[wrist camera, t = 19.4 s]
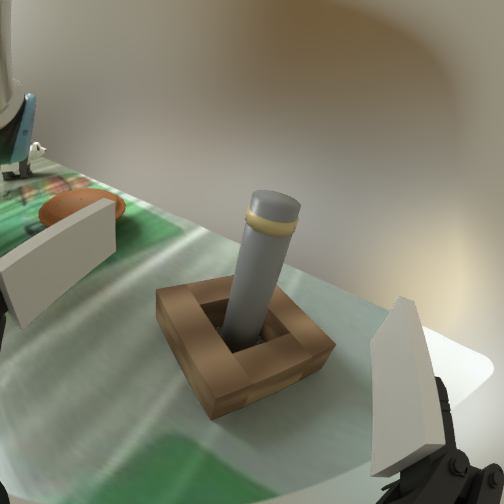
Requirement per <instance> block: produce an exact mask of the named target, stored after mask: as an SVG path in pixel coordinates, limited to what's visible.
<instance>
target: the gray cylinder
mask: <svg viewBox="0 0 504 504" xmlns="http://www.w3.org/2000/svg"><path fill="white" fill-rule="evenodd" d="M300 207H301V205H300V203H299V202H298V201H297V200H295V199H294V198H292V197H290V196H288V195H285V194H282V193H278V192H274V191H269V190H268V191H267V190H258V191H255V192H253V193H252V198H251V202H250V204H249V205H248V209H247V213H246V218H245V221H246V224H245V229H244V233H243V238H242V242H241V246H240V251H239V255H238V260H237V264H236V269H235V273H234V278H233V282H232V287H231V291H230V296H229V301H228V305H227V310H226V315H225V319H224V324H223V329H222V333H221V338H222V340H223V341H224V343H225V344H226V346H227V347H228V349H229V350H230V351H231V353H232V354H233V353H236V352H239V351H242V350H245V349H248V348H251V347H254V346H256V343H257V340H258V337H259V334H260V331H261V328H262V325H263V323H264V320H265V317H266V314H267V311H268V308H269V305H270V302H271V299H272V296H273V293H274V290H275V287H276V284H277V281H278V278H279V275H280V271H281V268H282V265H283V262H284V259H285V256H286V252H287V249H288V246H289V243H290V240H291V237H292V234H293V233H294V232H295V229H296V225H297V222H298V214H299V211H300Z"/></svg>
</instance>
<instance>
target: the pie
mask: <svg viewBox="0 0 504 504" xmlns="http://www.w3.org/2000/svg"><path fill="white" fill-rule="evenodd" d="M102 198H106V199H109V200H112V201H115V224H116V222H117V221H118V219H119V218H120V217H121V215H122V214H123V213H124V211H125V207H126V204H125V202H124V200H123V199H122V198H120V197H119V196H117V195H114V194H112V193H111V192H108V191H105V190H100V189H91V188H86V189H76V190H70V191H67V192H63V193H61V194H59V195H56V196H54V197H53V198H52V199H50V200H49V201H47V202H46V203H44V204H43V205H42V207H41V208H40V210H39V216H38V217H39V219H40V221H41V223H42V224H43V225H44V226H46V227H47V228H49V227H50V226H52V225H54V224H55V223H57V222H59V221H61V220H63V219H64V218H66V217H68V216H70V215H72V214H73V213H75V212H77V211H79V210H81V209H83V208H85V207H87V206H89V205H91V204H92V203H94V202H96V201H98V200H100V199H102Z"/></svg>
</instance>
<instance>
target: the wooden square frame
mask: <svg viewBox="0 0 504 504" xmlns="http://www.w3.org/2000/svg"><path fill="white" fill-rule="evenodd" d="M233 278H234V275H232V276H227V277H221V278H216V279H211V280H205V281H200V282H195V283H189V284H184V285H178V286H173V287H167V288H161V289H156V319H157V321H158V323H159V325H160V327H161V329H162V331H163V334H164V336H165V338H166V340H167V342H168V344H169V346H170V348H171V350H172V352H173V354H174V356H175V358H176V360H177V362H178V363H179V365H180V367H181V369H182V371H183V373H184V375H185V377H186V378H187V380H188V382H189V384H190V386H191V387H192V389H193V391H194V393H195V395H196V396H197V398H198V400H199V401H200V403H201V405H202V407H203V408H204V410H205V412H206V413H207V415H208V417H209V418H210V420H212V419H215V418H217V417H220V416H222V415H225V414H227V413H230V412H232V411H235V410H237V409H240V408H242V407H244V406H247V405H249V404H251V403H253V402H256V401H258V400H260V399H262V398H264V397H267V396H269V395H271V394H273V393H275V392H277V391H279V390H281V389H283V388H285V387H287V386H289V385H291V384H293V383H295V382H297V381H299V380H301V379H303V378H305V377H307V376H309V375H310V374H312V373H314V372H316V371H318V370H319V369H321V368H322V366H323V365H324V363H325V362H326V360H327V358H328V357H329V355H330V354H331V352H332V350H333V349H334V347H335V345H336V344H335V343H334V342H333V341H332V340H331V339H330V338H329V337H328V336H327V335H326V334H325V333H324V332H323V331H322V330H321V329H320V328H319V327H318V326H317V325H316V324H315V323H314V322H313V321H312V320H311V319H310V318H309V317H308V316H307V315H306V314H305V313H304V312H303V311H302V310H301V309H300V308H299V307H298V306H297V305H296V304H295V303H294V302H293V301H292V300H291V299H290V298H289V297H288V296H287V295H286V294H285V293H284V292H283V291H282V290H281V289H280V288H279V287H278V286H277V285H276V287H275V290H274V293H273V296H272V299H271V302H270V305H269V308H268V311H267V314H266V317H265V320H264V323H263V325H262V328H261V331H260V334H259V335H260V336H261V337H262V338H263V339H264V341H265V343H262V344H259V345H256V346H254V347H251V348H248V349H245V350H242V351H239V352H236V353H233V354H232V353H231V351H230V350H229V349H228V347H227V346H226V344H225V343H224V341H223V340H222V338H221V337H220V335H219V334H218V332H217V331H216V329H215V327H218V326H222V325H223V324H224V319H225V315H226V310H227V305H228V301H229V296H230V291H231V287H232V282H233Z"/></svg>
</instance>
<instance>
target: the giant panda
mask: <svg viewBox="0 0 504 504" xmlns="http://www.w3.org/2000/svg"><path fill="white" fill-rule="evenodd" d="M45 151H46V149H45V148H43V147H41V145H40V143H38V142H35V140H34V141H32V143H31V146H30V150H29V153H28V156H27V157H26V159H24V160H23V161H20V162H15V163H12V164H11V165H8V164H5V165H1V169H2V174H3V178H4V180H9V179H11V176H14V175H15V173H13V171H18V170H19V172H20V175H21V178H28V177H29V175H27V174H31V173H32V171H30V161H31V160H33V159H36V158H38V157H39V156H41V155H43V154H44V153H45Z"/></svg>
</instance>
